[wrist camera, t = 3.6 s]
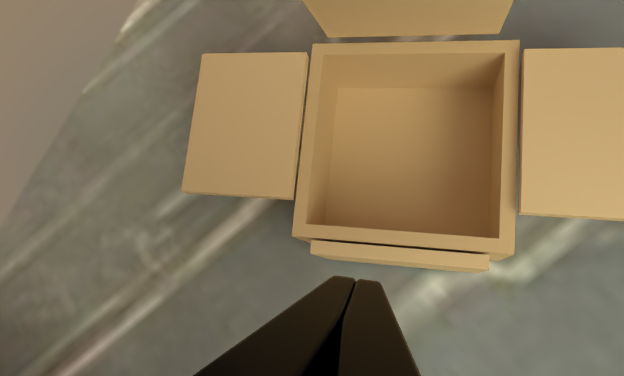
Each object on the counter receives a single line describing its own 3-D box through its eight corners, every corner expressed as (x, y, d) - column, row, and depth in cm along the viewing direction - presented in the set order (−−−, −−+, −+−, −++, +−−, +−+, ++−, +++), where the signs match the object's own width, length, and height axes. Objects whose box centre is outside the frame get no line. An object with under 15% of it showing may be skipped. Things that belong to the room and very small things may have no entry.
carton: (623, 286, 19) (679, 286, 15) (219, 249, 23) (173, 240, 19) (619, 84, 21) (669, 30, 16) (242, 83, 25) (204, 40, 21)
